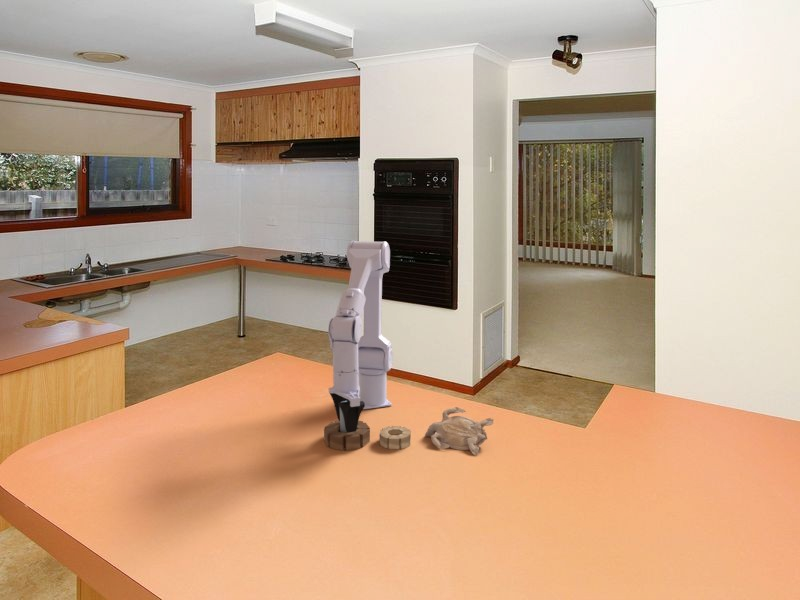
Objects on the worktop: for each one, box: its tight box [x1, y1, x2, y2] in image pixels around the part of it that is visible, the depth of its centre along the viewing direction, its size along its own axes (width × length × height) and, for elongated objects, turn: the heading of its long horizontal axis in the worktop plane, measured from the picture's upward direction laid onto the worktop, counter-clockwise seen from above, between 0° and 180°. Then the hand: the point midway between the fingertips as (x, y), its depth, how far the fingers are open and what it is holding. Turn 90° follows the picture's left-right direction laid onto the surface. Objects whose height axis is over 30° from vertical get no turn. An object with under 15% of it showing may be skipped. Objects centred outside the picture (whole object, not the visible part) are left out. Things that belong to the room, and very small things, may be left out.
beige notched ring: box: [379, 425, 412, 450], centre depth 137 cm, size 7×7×2 cm
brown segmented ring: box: [323, 420, 371, 451], centre depth 138 cm, size 10×10×3 cm
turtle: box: [424, 406, 494, 456], centre depth 137 cm, size 16×10×10 cm, turn 86°
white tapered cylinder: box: [340, 401, 355, 433], centre depth 138 cm, size 3×3×9 cm
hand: (346, 425), depth 138 cm, fingers open, 6 cm apart
